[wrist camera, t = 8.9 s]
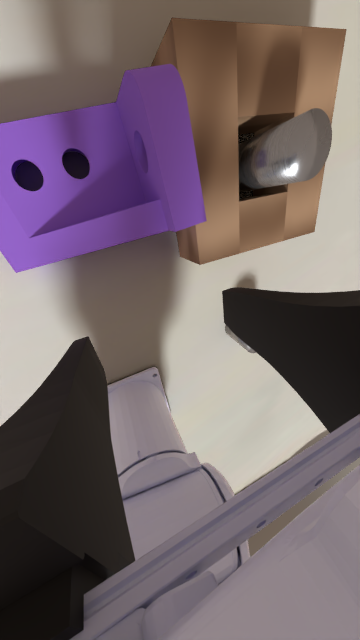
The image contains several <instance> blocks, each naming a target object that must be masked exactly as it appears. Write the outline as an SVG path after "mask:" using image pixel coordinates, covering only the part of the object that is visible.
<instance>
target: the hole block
mask: <svg viewBox="0 0 360 640" xmlns="http://www.w3.org/2000/svg"><path fill="white" fill-rule="evenodd" d="M345 35H346V29H334V28H319V27H303V26H288V25H273V24H257V23H242V22H227V21H211V20H196V19H181V18H172V19H171V21H170V23H169V26H168V28H167V30H166V33H165V35H164V37H163V40H162V42H161V44H160V46H159V49H158V51H157V53H156V56H155V58H154V60H153V63H152V65H151V67H152V66H159V65H165V64H172V65H174V66H175V68H176V69H177V71H178V72H179V74H180V77H181V79H182V82H183V85H184V89H185V93H186V98H187V104H188V110H189V116H190V122H191V128H192V134H193V140H194V147H195V153H196V159H197V165H198V171H199V177H200V183H201V189H202V195H203V201H204V207H205V214H206V220H207V221H205V222H202V223H199V224H196V225H194V226H191V227H188V228H185V229H182V230H179V231H176V234H177V241H178V247H179V253H180V257H182V258H185V259H187V260H190V261H192V262H194V263H197V264H199V265H201V264H204V263H208V262H211V261H215V260H218V259H222V258H225V257H229V256H232V255H236V254H239V253H242V252H246V251H249V250H253V249H256V248H260V247H263V246H267V245H270V244H274V243H277V242H281V241H284V240H288V239H291V238H294V237H298V236H301V235H305V234H308V233H312V232H314V231H315V224H316V218H317V212H318V205H319V199H320V193H321V186H322V180H323V174H324V167H325V164H324V166H323V167H322V169H321V170H320V172H319V173H318V174H317V175H316V176H315V177H313V178H312V179H310V180H307V181H302V182H296V183H290V184H284V185H278V186H272V187H266V188H260V189H254V190H253V196H251V197H247V198H242V199H239V164H238V134H247V133H254V137H255V136H257V135H259V134H261V133H263V132H265V131H267V130H269V129H271V128H273V127H275V126H277V125H280V124H282V123H284V122H286V121H288V120H290V119H292V118H294V117H296V116H298V115H300V114H302V113H304V112H306V111H309V110H311V109H314V108H319V109H322V110H323V111H324V112H325V113H326V114H327V115H328V117H329V120H330V123H332V117H333V111H334V104H335V98H336V92H337V85H338V79H339V73H340V66H341V60H342V54H343V47H344V41H345Z"/></svg>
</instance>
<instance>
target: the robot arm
mask: <svg viewBox="0 0 360 640" xmlns="http://www.w3.org/2000/svg"><path fill="white" fill-rule="evenodd" d="M222 294H223V310H224V323H225V324H226V325H227V326H228V328H229V329H230V330H231V331H232V332H233V333H234V334H235V335H236V336H237V337H238V338H239V339H241V340H242V341H243V342H244V343H245V344H247V345H248V346H249V347H250V348H252V349H253V350H254V351H255V352H257V353H258V354H259V355H260V356H261V357H263V358H264V359H265V360H266V361H267V362H268V363H269V364H271V365H272V366H273V367H274V369H275V370H276V371H277V372H278V373H279V374H280V375H281V376H282V377H283V378H284V379H285V380H286V381H287V382H288V383H289V384H290V385H291V386H292V387H293V389H294V390H295V391H296V392H297V393H298V394H299V395H300V397H301V398H302V399H303V400H304V401H305V402H306V404H307V405H308V406H309V407H310V408H311V409H312V411H313V412H314V413H315V414H316V416H317V417H318V418H319V420H320V421H321V422H322V423H323V425H324V426H325V427H326V428H327V430H328V431H329V432H330V434H328V435H327V436H325V437H324V438H322V439H321V440H319V441H318V442H316V443H315V444H313V445H312V446H310V447H308V448H307V449H305V450H304V451H302V452H301V453H299V454H298V455H296V456H295V457H293V458H292V459H290V460H289V461H287V462H286V463H284V464H282V465H281V466H279V467H278V468H276V469H275V470H273V471H272V472H270V473H269V474H267V475H266V476H264V477H263V478H261V479H260V480H258V481H257V482H255V483H253V484H252V485H250V486H249V487H247V488H246V489H244V490H243V491H241V492H240V493H238V494H237V495H234V492H233V491H232V489H231V487H230V485H229V483H228V482H227V480H226V479H225V478H224V476H223V475H222V474H221V473H220V472H219V471H218V470H217V469H215V468H214V467H213V466H212V465H211V464H209V463H203V464H200V462H199V460H198V458H197V456H196V454H195V452H193V453H189V454H188V453H187V450H186V448H185V446H184V444H183V441H182V439H181V437H180V434H179V432H178V430H177V428H176V425H175V423H174V421H173V418H172V416H171V412H170V409H169V406H168V402H167V399H166V395H165V392H164V389H163V385H162V382H161V378H160V375H159V372H158V369H157V368H156V367H152V368H149V369H147V370H144V371H142V372H139V373H137V374H135V375H132V376H130V377H127V378H125V379H122V380H120V381H117V382H115V383H112V384H110V385H108V386H107V382H106V377H105V372H104V368H103V366H102V364H101V362H100V360H99V358H98V356H97V354H96V352H95V350H94V347H93V345H92V343H91V341H90V339H89V337H85V338H82V339H79V340H76V341H74V342H73V343H72V345H71V346H70V347H69V349H68V350H67V352H66V353H65V354H64V356H63V357H62V359H61V360H60V361H59V363H58V364H57V366H56V367H55V368H54V370H53V371H52V372H51V373H50V375H49V376H48V377H47V378H46V380H45V381H44V382H43V383H42V385H41V386H40V387H39V388H38V389H37V390H36V392H35V393H34V394H33V395H32V396H31V397H30V398H29V399H28V400H27V401H26V402H25V403H24V404H23V405H22V406H21V408H20V409H19V410H18V411H17V412H16V413H15V414H13V415H12V416H11V417H10V418H9V419H8V420H7V421H6V422H5V423H4V424H3V425H2V426H0V640H360V465H358V466H357V467H356V468H355V469H353V470H352V471H351V472H350V473H348V474H347V475H346V476H345V477H343V478H342V479H341V480H340V481H338V482H337V483H336V484H335V485H334V486H332V487H331V488H330V489H329V490H327V492H325V493H324V494H323V495H321V496H320V497H319V498H318V499H317V500H316V501H315V502H313V503H312V504H311V505H310V506H309V507H307V508H306V509H305V510H304V511H303V512H302V513H300V514H299V515H298V516H297V517H296V518H295V519H294V520H292V521H291V522H290V523H289V524H288V525H287V526H286V527H284V528H283V529H282V530H281V531H280V532H279V533H278V534H277V535H275V536H274V537H273V538H272V539H271V540H270V541H269V542H267V543H266V544H265V545H264V546H263V547H262V548H261V549H259V550H258V551H257V552H256V553H255V554H254V555H253V556H252V557H250V553H249V547H248V539H249V538H250V537H252V536H253V535H254V534H256V533H257V532H258V531H260V530H261V529H263V528H264V527H265V526H267V525H268V524H269V523H271V522H272V521H273V520H275V519H276V518H277V517H279V516H280V515H282V514H283V513H284V512H286V511H287V510H288V509H290V508H291V507H292V506H294V505H295V504H297V503H298V502H299V501H301V500H302V499H303V498H305V497H306V496H307V495H309V494H310V493H311V492H313V491H314V490H315V489H317V488H318V487H320V486H321V485H322V484H324V483H325V482H326V481H328V480H329V479H331V478H332V477H333V476H335V475H336V474H337V473H339V472H340V471H341V470H343V469H344V468H345V467H347V466H348V465H350V464H351V463H352V462H354V461H355V460H356V459H358V458H359V457H360V290H358V291H347V292H330V293H294V292H279V291H268V290H259V289H249V288H230V289H227V290H224V291H222ZM154 374H155V375H154Z"/></svg>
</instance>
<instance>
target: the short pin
mask: <svg viewBox="0 0 360 640" xmlns="http://www.w3.org/2000/svg"><path fill="white" fill-rule="evenodd" d="M225 331H226V333H227V334H228V335H229V336H230V337H231V338H233V339H234V340H235V341H236V342H237V343H239V344H240V345H241V346H242V347H244V348H245V349H246V350H247V351H248V352H250V353H256V352H255V351H254V350H253V349H252V348H250V347H249V346H248V345H247V344H245V343H244V342H243V341H242V340H241V339H239V338H238V337H237V336H236V335H235V334H234V333H233V332H232V331H231V330H230V329H229V328H228V326H227V325H226V326H225Z"/></svg>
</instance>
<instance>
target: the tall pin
mask: <svg viewBox="0 0 360 640" xmlns="http://www.w3.org/2000/svg"><path fill="white" fill-rule="evenodd" d="M331 140H332V128H331V123H330V120H329V117H328V115H327V114H326V113H325V112H324V111H323V110H322V109H319V108H314V109H311V110H309V111H306V112H304V113H302V114H300V115H298V116H296V117H294V118H292V119H290V120H288V121H286V122H284V123H282V124H280V125H277V126H275V127H273V128H271V129H269V130H267V131H265V132H263V133H261V134H259V135H257V136H255V137H253V138H251V139H248V140H246V141H244V142H242V143H240V144H238V164H239V192H242V191H248V190H254V189H260V188H266V187H272V186H278V185H284V184H290V183H296V182H302V181H307V180H310V179H312V178H313V177H315V176H316V175H317V174H318V173H319V172H320V170H321V169H322V167H323V166H324V164H325V162H326V160H327V157H328V154H329V151H330V147H331Z"/></svg>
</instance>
